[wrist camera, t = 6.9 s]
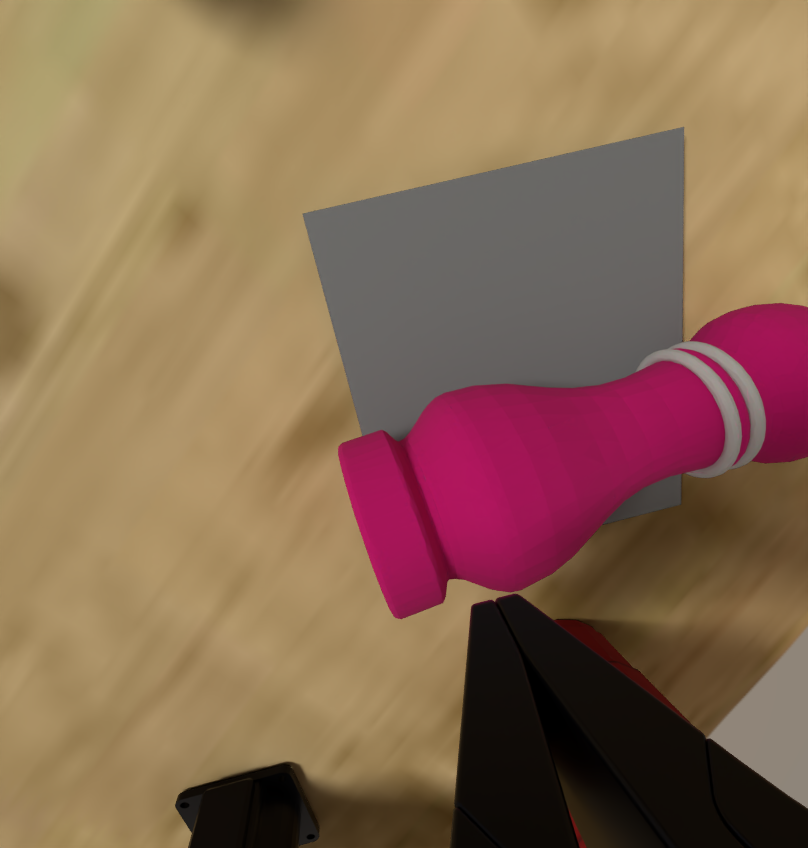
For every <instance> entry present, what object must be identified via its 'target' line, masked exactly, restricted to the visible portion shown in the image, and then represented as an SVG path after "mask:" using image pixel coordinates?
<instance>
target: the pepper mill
mask: <svg viewBox="0 0 808 848" xmlns="http://www.w3.org/2000/svg"><path fill="white" fill-rule="evenodd" d="M338 456H339V460H340V465H341V469H342V473H343V476H344V480H345V484H346V487H347V491H348V494H349V497H350V501H351V504H352V508H353V511H354V515H355V518H356V520H357V523H358V526H359V529H360V532H361V535H362V538H363V541H364V544H365V547H366V550H367V552H368V555H369V558H370V561H371V564H372V567H373V570H374V572H375V575H376V577H377V580H378V582H379V585H380V588H381V590H382V593H383V595H384V597H385V600H386V602H387V604H388V607H389V609H390V611H391V612H392V614H393V616H394V617H395V618H398V619H403V618H406V617H408V616H411V615H413V614H416V613H418V612H421V611H424V610H426V609H429V608H431V607H434V606H436V605H439V604H441V603H443V602H444V600H445V597H446V589H447V582H448V580H449V579H462V580H467V581H470V582H472V583H475V584H478V585H480V586H483V587H486V588H489V589H492V590H497V591H505V592H514V591H519V590H522V589H524V588H526V587H528V586H530V585H532V584H534V583H535V582H537V581H539V580H541V579H543V578H545V577H547V576H549V575H551V574H552V573H554V572H555V571H556V570H557V569H559V568H560V567H561V566H562V565H564V564H565V563H566V562H567V561H568V560H570V559H571V558H572V557H573V556H574V555H575V554H576V553H577V552H578V551H579V550H580V548H581V547H582V546H583V545H584V544H585V543H586V542H587V541H588V540H589V538H590V537H591V536H592V535H593V534H594V533H595V532H596V531H597V529H598V528H599V527H600V526H601V525H602V524H603V523H604V522H605V521H606V519H607V518H608V517H609V516H610V515H611V514H612V513H613V512H614V511H615V510H616V509H617V508H618V507H619V506H620V505H621V504H622V503H623V502H624V501H625V500H627V499H628V498H630V497H631V496H633V495H634V494H635V493H637V492H638V491H640V490H641V489H643V488H644V487H647V486H649V485H651V484H654V483H656V482H658V481H661V480H663V479H665V478H668V477H670V476H674V475H679V474H683V473H685V474H687V475H690V476H693V477H698V478H712V477H715V476H719V475H721V474H723V473H725V472H726V471H727V470H729V469H736V468H739V467H741V466H744V465H746V464H747V463H749V462H750V461H754V462H760V463H779V462H791V461H795V460H798V459H802V458H805V457H808V307H805V306H800V305H792V304H784V303H775V304H762V305H753V306H749V307H745V308H741V309H737V310H734V311H731V312H728V313H726V314H724V315H722V316H720V317H718V318H716V319H714V320H712V321H710V322H708V323H707V324H706V325H704V326H703V327H702V328H701V329H700V330H699V331H698V332H697V333H696V334H695V335H694V337H693V338H692V339H691V340H690V341H687V342H681V343H678V344H676V345H674V346H672V347H670V348H668V349H665V350H659V351H656V352H653V353H652V354H650V355H648V356H647V357H646V358H645V359H643V360H642V362H641V363H640V365H639V366H638V368H637V370H636V372H635V373H633V374H631V375H629V376H627V377H625V378H622V379H618V380H615V381H611V382H608V383H604V384H601V385H594V386H585V387H576V388H549V387H537V386H526V385H516V384H491V385H473V386H469V387H466V388H462V389H458V390H454V391H450V392H446V393H443V394H441V395H439V396H437V397H435V398H434V399H433V400H432V401H431V402H430V403H429V404H428V405H427V407H426V408H425V409H424V410H423V412H422V413H421V415H420V417H419V418H418V420H417V421H416V423H415V425H414V426H413V428H412V429H411V431H410V432H409V434H408V435H407V436H406V437H405V438H404V439H402V440H400V441H396V440H395V439H394V438H392V437H391V436H390V435H389V434H388V433H387V432H386V431H384V430H379V431H376V432H373V433H370V434H367V435H364V436H361V437H359V438H356V439H353V440H350V441H347V442H344V443H342V444H341V445H340V446H339V447H338Z"/></svg>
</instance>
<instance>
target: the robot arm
mask: <svg viewBox="0 0 808 848" xmlns="http://www.w3.org/2000/svg"><path fill="white" fill-rule="evenodd" d="M454 805H455V809H454V810H453V819H452V830H451V842H450V848H580V847H579V843H578V840H577V837H576V833H575V830H574V827H573V823H572V820H571V817H570V813H571V815H572V818H573V820H574V822H575V824H576V826H577V828H578V830H579V832H580V835H581V837H582V839H583V841H584V843H585V845H586V847H587V848H808V808H806V807H805V806H803V805H802V804H800V803H799V802H797V801H796V800H794V799H792V798H791V797H790V796H788V795H787V794H785V793H784V792H782V791H781V790H780V789H778V788H777V787H776V786H774V785H773V784H772V783H770V782H769V781H767V780H766V779H765V778H763V777H762V776H761V775H759V774H758V773H756V772H755V771H754V770H752V769H751V768H749V767H748V766H747V765H745V764H744V763H742V762H741V761H740V760H738V759H737V758H736V757H734V756H733V755H732V754H730V753H729V752H728V751H726V750H725V749H724V748H722V747H721V746H720V745H719V744H717V743H716V742H714V741H713V740H712V739H707V740H706V738H705V735H704V734H703V733H702V732H701V731H700V730H698V729H697V728H696V727H694V726H693V725H692V724H690V723H689V722H688V721H686V720H685V719H684V718H682V717H681V716H680V715H678V714H677V713H676V712H674V711H673V710H672V709H670V708H669V707H668V706H666V705H665V704H664V703H662V702H661V701H660V700H658V699H657V698H656V697H654V696H653V695H652V694H650V693H649V692H648V691H646V690H645V689H644V688H643V687H641V686H640V685H639V684H637V683H636V682H635V681H633V680H632V679H631V678H629V677H628V676H627V675H625V674H624V673H623V672H621V671H620V670H619V669H617V668H616V667H615V666H613V665H612V664H611V663H609V662H608V661H607V660H605V659H604V658H603V657H601V656H600V655H599V654H597V653H596V652H595V651H593V650H592V649H591V648H589V647H588V646H587V645H585V644H584V643H583V642H581V641H580V640H579V639H577V638H576V637H575V636H573V635H572V634H571V633H569V632H568V631H567V630H565V629H564V628H563V627H561V626H560V625H559V624H557V623H556V622H555V621H553V620H552V619H551V618H550V617H548V616H547V615H546V614H544V613H543V612H542V611H540V610H539V609H538V608H536V607H535V606H534V605H532V604H531V603H530V602H528V601H527V600H526V599H524V598H523V597H522V596H520V595H518V594H511V595H507V596H503V597H499V598H497V599H496V601H495V602H494V601H493V600H488V601H484V602H480V603H476V604H473V605H472V607H471V616H470V627H469V639H468V650H467V662H466V673H465V685H464V696H463V708H462V719H461V731H460V743H459V754H458V766H457V777H456V789H455V800H454ZM175 807H176V809H177V811H178V812H179V814H180V815H181V817H182V818H183V820H184V822H185V823H186V825H187V826H188V828H189V829H190V831H191V832H192V835H191V839H190V842H189V846H188V848H299V845H303V844H307V843H310V842H314V841H316V840H317V839H318V838H319V825H318V823H317V821H316V819H315V817H314V814H313V812H312V810H311V808H310V806H309V804H308V802H307V800H306V797H305V795H304V793H303V791H302V789H301V787H300V785H299V782H298V780H297V778H296V776H295V774H294V772H293V770H292V768H291V767H290V766H288V765H281V766H277V767H273V768H270V769H266V770H262V771H259V772H255V773H251V774H248V775H244V776H240V777H236V778H233V779H229V780H225V781H222V782H218V783H214V784H211V785H207V786H203V787H200V788H196V789H192V790H189V791H185V792H182V793H180V794H179V795H178V798H177V801H176V804H175ZM568 809H569V810H568ZM569 811H570V813H569Z"/></svg>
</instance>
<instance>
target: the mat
mask: <svg viewBox="0 0 808 848" xmlns="http://www.w3.org/2000/svg"><path fill="white" fill-rule="evenodd" d="M683 196H684V127H682V128H677V129H673V130H668V131H664V132H660V133H655V134H651V135H646V136H642V137H638V138H633V139H629V140H624V141H620V142H616V143H611V144H607V145H602V146H598V147H594V148H589V149H585V150H581V151H576V152H572V153H567V154H563V155H559V156H554V157H550V158H545V159H541V160H537V161H532V162H528V163H523V164H519V165H515V166H510V167H506V168H501V169H497V170H493V171H488V172H484V173H480V174H475V175H471V176H466V177H462V178H458V179H453V180H449V181H444V182H440V183H436V184H431V185H427V186H422V187H418V188H414V189H409V190H405V191H400V192H396V193H392V194H387V195H383V196H379V197H374V198H370V199H365V200H361V201H357V202H352V203H348V204H343V205H339V206H335V207H330V208H326V209H321V210H317V211H313V212H308V213H304V214H303V217H304V221H305V225H306V228H307V232H308V236H309V240H310V243H311V247H312V251H313V254H314V258H315V262H316V265H317V269H318V273H319V276H320V280H321V284H322V288H323V291H324V295H325V299H326V302H327V306H328V310H329V313H330V317H331V321H332V325H333V328H334V332H335V336H336V339H337V343H338V347H339V350H340V354H341V358H342V361H343V365H344V369H345V373H346V376H347V380H348V384H349V387H350V391H351V395H352V398H353V402H354V406H355V409H356V413H357V417H358V421H359V424H360V428H361V432H362V435H363V436H364V435H367V434H370V433H373V432H376V431H379V430H384V431H386V432H387V433H388V434H389V435H390V436H391V437H392V438H394V439H395V440H396V441H400V440H402V439H404V438H405V437H406V436H407V435H408V434H409V432H410V431H411V429H412V428H413V426H414V425H415V423H416V421H417V420H418V418H419V417H420V415H421V413H422V412H423V410H424V409H425V408H426V407H427V405H428V404H429V403H430V402H431V401H432V400H433V399H434V398H435V397H437V396H439V395H441V394H443V393H446V392H450V391H454V390H458V389H462V388H466V387H469V386H473V385H491V384H516V385H526V386H537V387H549V388H576V387H585V386H594V385H601V384H604V383H608V382H611V381H615V380H618V379H622V378H625V377H627V376H629V375H631V374H633V373H635V372H636V370H637V368H638V366H639V365H640V363H641V362H642V360H643V359H645V358H646V357H647V356H648V355H650V354H652V353H653V352H656V351H659V350H665V349H668V348H670V347H672V346H674V345H676V344H678V343H681V342H682V327H683ZM677 505H681V474H679V475H674V476H670V477H668V478H665V479H663V480H661V481H658V482H656V483H654V484H651V485H649V486H647V487H644V488H643V489H641V490H640V491H638V492H637V493H635V494H634V495H633V496H631V497H630V498H628V499H627V500H625V501H624V502H623V503H622V504H621V505H620V506H619V507H618V508H617V509H616V510H615V511H614V512H613V513H612V514H611V515H610V516H609V517H608V518H607V519H606V521H605V522H604V523H603V524H602V525H604V524H608V523H611V522H615V521H619V520H623V519H627V518H631V517H635V516H638V515H642V514H646V513H650V512H654V511H658V510H662V509H666V508H669V507H673V506H677Z"/></svg>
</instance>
